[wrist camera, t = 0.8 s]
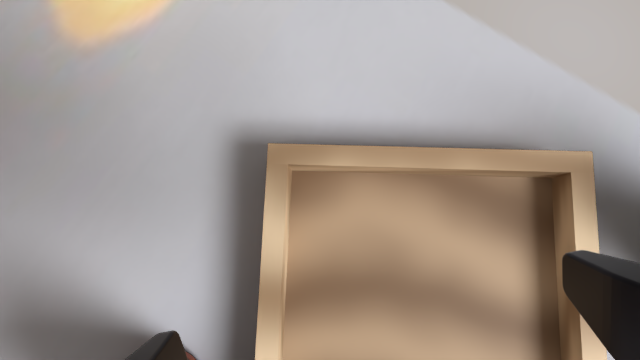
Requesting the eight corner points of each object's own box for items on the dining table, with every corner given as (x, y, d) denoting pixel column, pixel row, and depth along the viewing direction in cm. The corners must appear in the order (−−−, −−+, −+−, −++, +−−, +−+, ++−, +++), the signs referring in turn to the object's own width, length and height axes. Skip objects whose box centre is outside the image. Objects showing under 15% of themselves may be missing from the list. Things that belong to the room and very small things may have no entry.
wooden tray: (577, 478, 22) (618, 518, 19) (259, 455, 23) (246, 490, 20) (559, 163, 24) (592, 151, 21) (276, 155, 25) (268, 143, 22)
